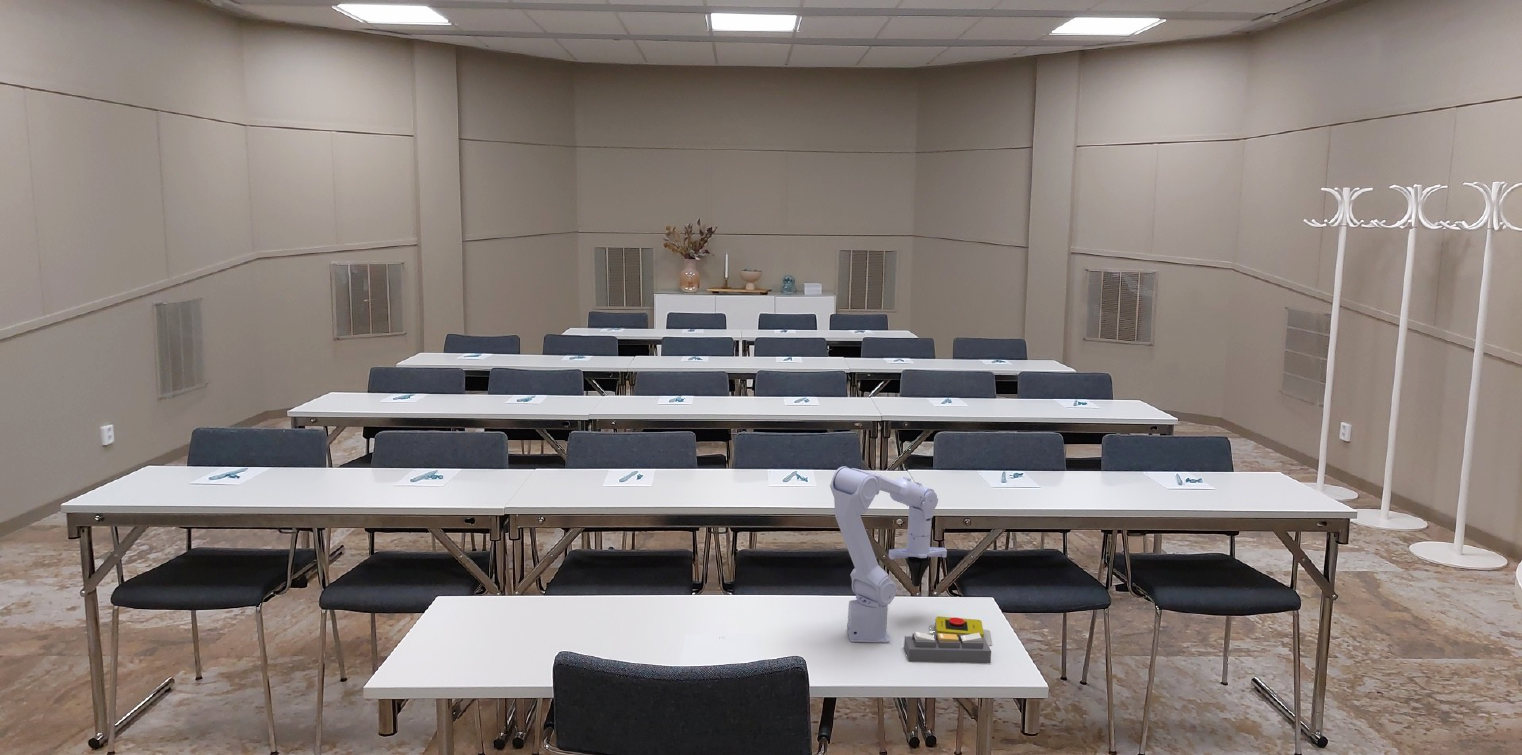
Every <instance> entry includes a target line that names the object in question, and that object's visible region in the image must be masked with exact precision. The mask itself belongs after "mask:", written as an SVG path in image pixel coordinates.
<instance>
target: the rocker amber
mask: <svg viewBox="0 0 1522 755" xmlns="http://www.w3.org/2000/svg"><path fill="white" fill-rule="evenodd" d="M937 638H938V640H939V641H949V642H958V640H959V639H958V637H957V635H956V634H942V633H938V634H937Z"/></svg>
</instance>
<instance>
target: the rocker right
mask: <svg viewBox="0 0 1522 755" xmlns="http://www.w3.org/2000/svg"><path fill="white" fill-rule="evenodd" d="M960 637H961V641H962V642H982V638H981V636H980V634H979V633H974V634H969V635H963V636H960Z"/></svg>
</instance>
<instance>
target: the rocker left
mask: <svg viewBox="0 0 1522 755" xmlns="http://www.w3.org/2000/svg"><path fill="white" fill-rule="evenodd" d="M913 634H914V637H915V640H916V641H935V639H934V637H933V635H929V633H925V632H919V631H915V630H914V632H913Z"/></svg>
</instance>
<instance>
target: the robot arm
mask: <svg viewBox="0 0 1522 755" xmlns="http://www.w3.org/2000/svg"><path fill="white" fill-rule="evenodd" d="M829 488H830V490H831V494H832V495H833V498H834V499H833V501H834V504H833V505H834V516H835V520H836V522H837V525H838V527H839V530H840V532H841V536H842V538H843V540H844V543H845V546H846V548H847V551H848V554H849V557H850V558H851V559H850V560H851V562H852V563H853V567H854V568H853V569H852V571H851V573H850V575H849V576H850V579H851V590H852V592H853V593H854V594H855V599H852V600H849V601H848V611H847V614H848V615H847V624H846V630H847V633H848V637H849V642H852V643H890V637H889V634H888V631H887V628H888V627H887V624H888V609H889V608H888V607H889V605H891V603H892V602H893V600H894V599H895V597H896V593H897V585H896V583H895V581H893V580H892V579H891V578H890V576H889V574H888V573H887V571H885V569H883V567H881V566H880V565H879V562H878V560H877V557H876V555H875V552H874V549H873V546H872V544H871V541H870V538H869V536H868V533H867V530H866V528H865V525H864V522H863V520H862V517H861V515H865V514H866V512H867V511H868V509H869V507H870V506H871V504H872V502H873V501H874V499H875V497H876V496H878V495H879V494H880V492H881V491H882V492H885V493H887V494H889V496H890V498H891V499H892V500H893V501H895V502H897V503H900V504H903V505H906V506H907V507H908V518H907V519H908V520H907V534H906V535H907V536H906V546H905V547H899V548H892V549H888V558H889V559H890V560H891V561H892V560H895V559H904V560H905V562H906V564H907V566H908V569H909V573H910V577H911V584H912V586H914V587H920V586H921V583H922V579H923V578H924V575H925V572H926V570H927V569H928V567H930V565H931V560H930V558H937V557H939V558H941V557H942V558H947V553H948V550H947V549H946V548H945V547H936V546H935V547H934V546H931V537H932V536H931V534H932V519H933V517H934V515H935V509H936V508H937V506H938V504H939V503H938V502H939V498H938V495H937V492H935V489H933V488H930V487H926V486H924V485H923V484H922V483H921V482H919V481H917V482H913V481H912V479H911V478H910V477H908V476H907V477H906V476H903V477H902V478H901V477H899V478H896V479H895V480H893V479H891V478H888V477H886V476H883V475H881V474H879V473H876V472H873V471H869V470H864V469H860V468H854V467H852V468H849V467H848V466H840V467H838V468H837V469H836V471H835V472H834V474H833V476H832V478H831V481H830V484H829Z"/></svg>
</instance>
